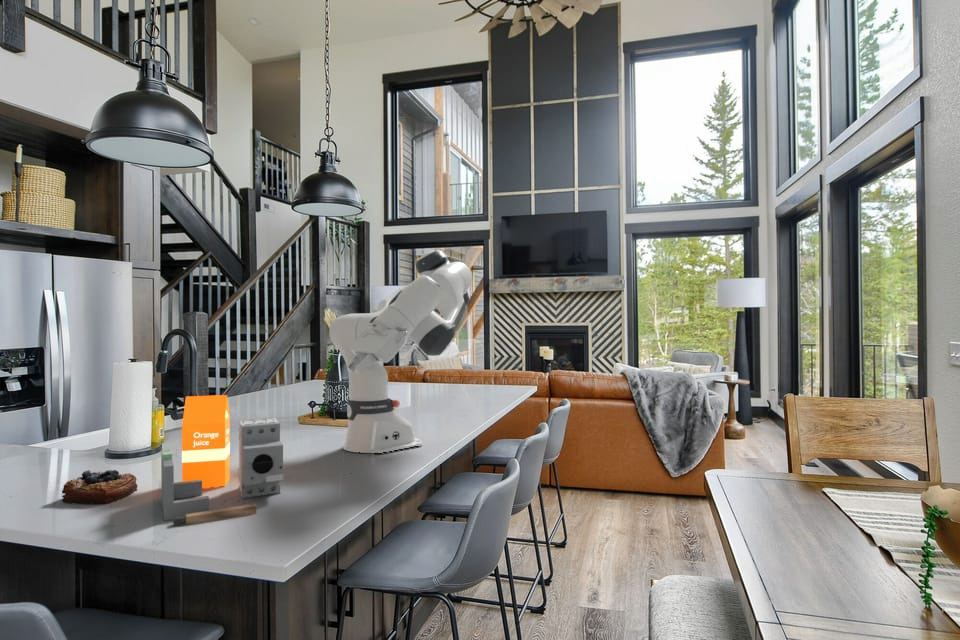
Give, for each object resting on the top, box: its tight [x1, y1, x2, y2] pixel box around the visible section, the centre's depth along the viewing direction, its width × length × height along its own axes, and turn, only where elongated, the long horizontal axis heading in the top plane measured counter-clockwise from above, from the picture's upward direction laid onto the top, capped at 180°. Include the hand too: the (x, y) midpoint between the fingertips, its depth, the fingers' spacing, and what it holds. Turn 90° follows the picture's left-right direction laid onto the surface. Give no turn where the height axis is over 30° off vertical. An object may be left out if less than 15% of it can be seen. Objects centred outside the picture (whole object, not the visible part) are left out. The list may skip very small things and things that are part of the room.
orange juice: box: [181, 394, 231, 489], centre depth 129 cm, size 8×9×20 cm
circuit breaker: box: [238, 417, 284, 499], centre depth 121 cm, size 8×14×15 cm, turn 27°
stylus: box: [172, 503, 257, 527], centre depth 107 cm, size 14×2×2 cm, turn 120°
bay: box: [160, 449, 210, 522], centre depth 114 cm, size 8×15×11 cm, turn 31°
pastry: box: [61, 469, 138, 505], centre depth 120 cm, size 11×12×6 cm
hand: (353, 370), depth 132 cm, fingers open, 4 cm apart
